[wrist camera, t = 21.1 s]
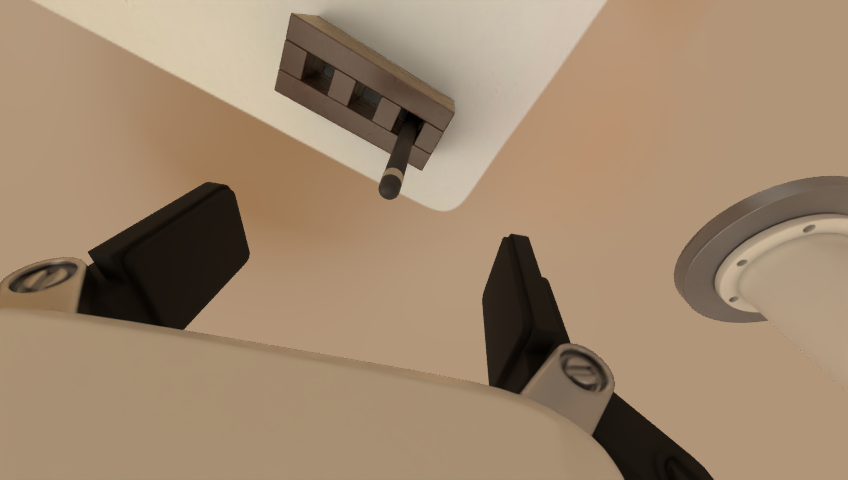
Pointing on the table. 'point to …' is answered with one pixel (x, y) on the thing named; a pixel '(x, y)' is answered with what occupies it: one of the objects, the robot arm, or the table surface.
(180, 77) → the table surface
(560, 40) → the table surface
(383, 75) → the pen stand
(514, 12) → the table surface
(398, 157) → the stylus
